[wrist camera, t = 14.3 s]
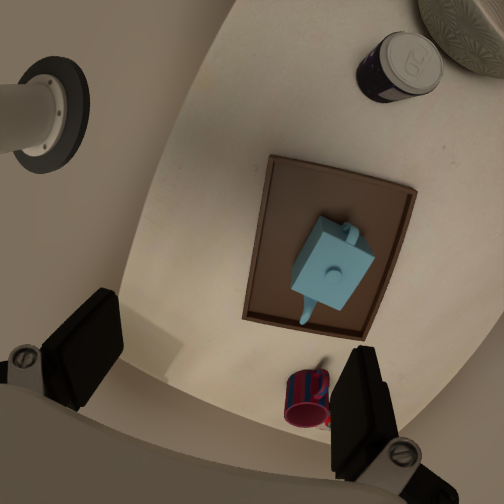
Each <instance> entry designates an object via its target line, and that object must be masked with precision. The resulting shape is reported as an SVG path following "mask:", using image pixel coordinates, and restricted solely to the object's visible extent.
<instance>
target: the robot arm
mask: <svg viewBox="0 0 504 504" xmlns="http://www.w3.org/2000/svg"><path fill="white" fill-rule="evenodd" d="M66 119H67V96H66V92H65V89H64V87H63V85H62V83H61V82H60V80H59V79H58V78H56V77H55V76H53V75H49V74H41V75H37V76H35V77H33V78H32V79H31V80H29V81H28V82H27V84H10V85H0V154H4V153H8V152H12V151H16V150H22V151H23V152H24V153H26V154H27V155H29V156H40V155H44V154H46V153H48V152H49V151H51V150H52V149H53V148H54V147H55V145H56V144H57V143H58V141H59V139H60V137H61V135H62V133H63V130H64V127H65V123H66ZM123 348H124V343H123V336H122V328H121V319H120V310H119V300H118V296H116V295H115V292H114V291H112V290H109V289H106V288H100V289H98V290H97V291H96V292H95V293H94V294H93V295H92V296H91V297H90V298H89V299H88V300H86V301H85V302H84V304H82V305H81V306H80V307H79V308H78V309H77V310H76V311H75V312H74V313H73V314H72V315H71V316H70V317H69V318H68V319H67V320H66V321H65V322H64V323H63V324H62V325H61V326H60V327H59V328H58V329H57V330H56V331H55V332H54V333H53V334H52V335H51V336H50V337H49V338H48V339H47V340H46V341H45V342H44V343H43V344H42V347H41V348H40V349H38V348H37V347H35V346H33V345H28V344H27V345H26V344H25V345H21V346H18V347H17V348H15V349H14V350H13V351H12V352H11V353H10V356H9V359H8V361H2V362H0V504H459V496H458V493H457V491H456V489H454V488H453V487H452V486H451V485H450V484H448V483H447V482H446V481H444V480H442V479H441V478H440V477H439V476H437V475H436V474H434V473H433V472H432V471H431V470H429V469H428V468H427V467H425V466H424V465H423V464H421V463H420V462H421V459H422V453H421V450H420V448H419V446H418V445H417V444H416V443H415V442H414V441H413V440H411V439H409V438H405V437H399V435H398V430H397V425H396V420H395V415H394V410H393V406H392V401H391V397H390V393H389V388H388V385H387V383H386V382H383V381H382V377H381V373H380V368H379V364H378V360H377V356H376V352H375V349H374V347H370V346H362V345H359V346H358V348H354V349H353V350H352V352H351V354H350V356H349V358H348V361H347V363H346V365H345V367H344V369H343V371H342V373H341V375H340V377H339V379H338V381H337V383H336V385H335V387H334V389H333V391H332V394H331V397H330V417H331V470H332V471H333V472H335V473H336V476H335V477H336V479H345V481H338V480H328V479H316V478H306V477H297V476H288V475H282V474H274V473H268V472H261V471H256V470H250V469H245V468H240V467H235V466H230V465H226V464H221V463H217V462H213V461H209V460H204V459H201V458H197V457H193V456H190V455H186V454H183V453H180V452H176V451H173V450H170V449H167V448H163V447H160V446H158V445H155V444H152V443H149V442H146V441H143V440H140V439H138V438H135V437H132V436H130V435H127V434H125V433H122V432H120V431H117V430H115V429H112V428H110V427H108V426H105V425H103V424H101V423H99V422H96V421H94V420H92V419H90V418H88V417H86V416H84V415H81V414H79V413H77V411H78V410H79V408H80V407H84V406H85V405H86V403H87V402H88V401H89V398H91V396H92V395H93V393H94V392H95V390H96V389H97V387H98V386H99V384H100V383H101V382H102V380H103V379H104V377H105V376H106V374H107V373H108V371H109V370H110V369H111V367H112V366H113V364H114V363H115V362H116V360H117V359H118V357H119V356H120V354H121V353H122V351H123ZM67 407H68V408H67ZM69 408H70V409H69ZM71 409H72V410H71ZM73 410H74V411H73ZM75 411H76V412H75Z"/></svg>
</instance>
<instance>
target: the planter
mask: <svg viewBox="0 0 504 504" xmlns="http://www.w3.org/2000/svg"><path fill="white" fill-rule="evenodd" d="M418 6H419V10H420V14H421V17H422V19H423V22H424V24H425V26H426V28H427V30H428V31H429V33H430V35H431V36H432V38H433V39H434V40H435V42H436V43H437V44H438V45H439V46H440V48H441V49H442V50H443V51H444V52H445V53H446V54H447V55H448V56H450V57H451V58H452V59H453V60H455V61H456V62H457V63H459V64H460V65H462V66H463V67H465V68H467V69H469V70H471V71H473V72H475V73H478V74H481V75H484V76H488V77H493V78H504V0H418Z"/></svg>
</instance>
